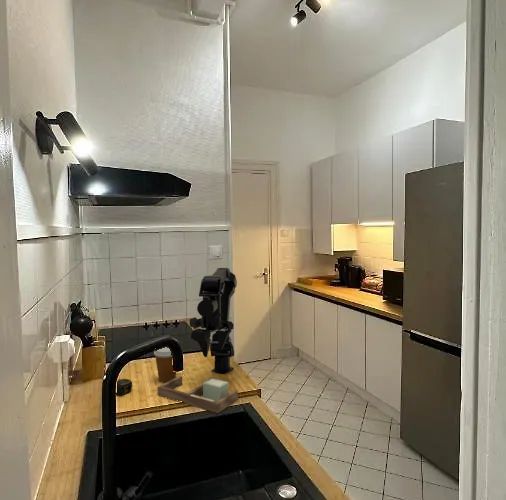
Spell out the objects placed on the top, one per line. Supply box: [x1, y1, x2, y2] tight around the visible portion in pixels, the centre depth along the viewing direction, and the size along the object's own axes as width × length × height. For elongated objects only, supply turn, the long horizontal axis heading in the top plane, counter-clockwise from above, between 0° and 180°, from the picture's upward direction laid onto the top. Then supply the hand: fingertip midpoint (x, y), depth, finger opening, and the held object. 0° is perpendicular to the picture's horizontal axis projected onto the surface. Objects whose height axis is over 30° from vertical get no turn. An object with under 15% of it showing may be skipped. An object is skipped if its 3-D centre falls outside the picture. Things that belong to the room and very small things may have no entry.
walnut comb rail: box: [157, 375, 239, 414], centre depth 126 cm, size 11×26×3 cm, turn 59°
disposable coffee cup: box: [153, 347, 177, 383], centre depth 142 cm, size 10×10×12 cm
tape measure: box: [116, 378, 133, 396], centre depth 131 cm, size 7×7×4 cm
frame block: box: [202, 377, 230, 401], centre depth 126 cm, size 5×7×6 cm
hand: (213, 353), depth 135 cm, fingers open, 9 cm apart
